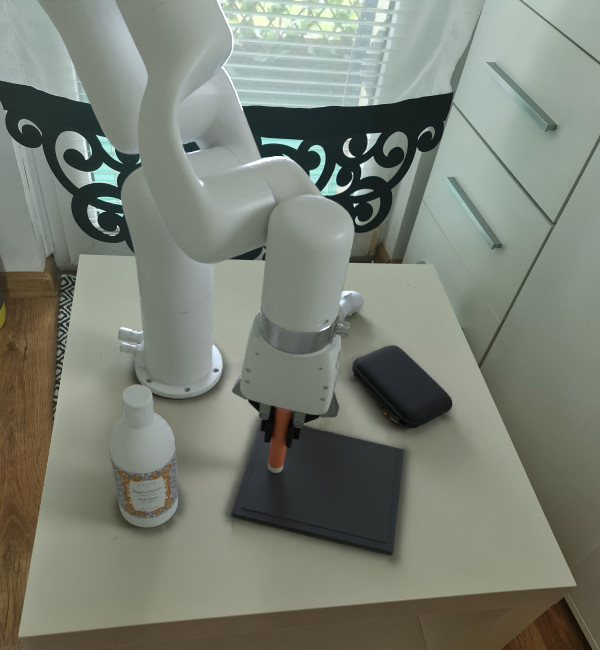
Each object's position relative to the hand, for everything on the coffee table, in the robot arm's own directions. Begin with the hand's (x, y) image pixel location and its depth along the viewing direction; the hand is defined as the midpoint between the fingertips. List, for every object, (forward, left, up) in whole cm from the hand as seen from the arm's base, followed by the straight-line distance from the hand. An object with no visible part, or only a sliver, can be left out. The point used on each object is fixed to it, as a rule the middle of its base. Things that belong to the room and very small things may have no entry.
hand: (280, 435), depth 74 cm
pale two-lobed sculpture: (+3, +34, -8) cm, 35 cm away
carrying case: (+14, +19, -8) cm, 25 cm away
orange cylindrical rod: (0, 0, -7) cm, 7 cm away
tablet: (+6, 0, -8) cm, 10 cm away
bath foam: (-14, -9, -8) cm, 18 cm away
